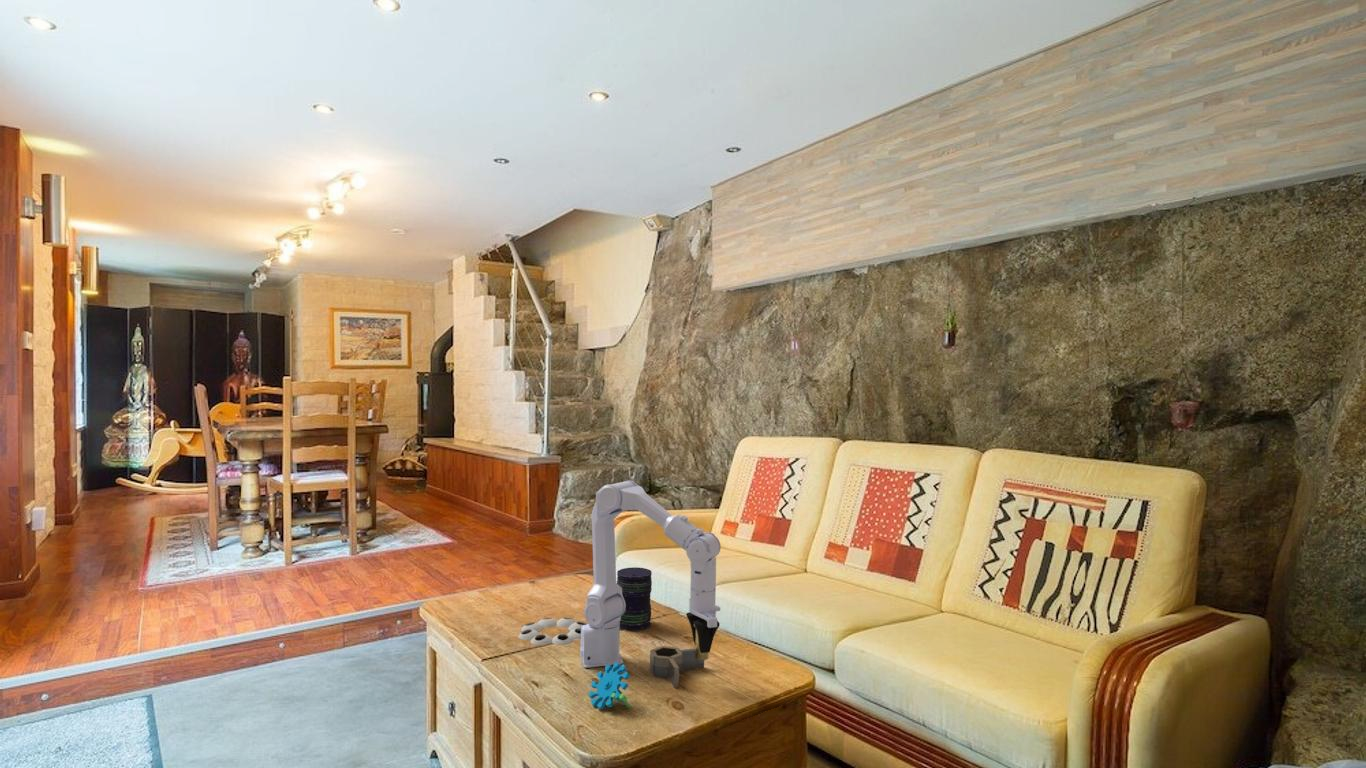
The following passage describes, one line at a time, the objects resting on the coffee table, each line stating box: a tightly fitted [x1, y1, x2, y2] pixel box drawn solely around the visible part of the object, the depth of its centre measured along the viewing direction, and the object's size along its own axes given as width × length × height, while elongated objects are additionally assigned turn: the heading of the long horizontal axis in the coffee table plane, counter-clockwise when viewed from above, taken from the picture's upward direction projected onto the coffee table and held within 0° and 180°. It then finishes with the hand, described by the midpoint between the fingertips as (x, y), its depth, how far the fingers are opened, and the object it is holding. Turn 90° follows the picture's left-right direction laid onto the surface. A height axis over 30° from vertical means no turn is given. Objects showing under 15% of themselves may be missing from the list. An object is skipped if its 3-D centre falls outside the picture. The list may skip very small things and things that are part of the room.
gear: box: [588, 662, 632, 710], centre depth 146 cm, size 11×6×10 cm
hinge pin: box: [694, 619, 710, 661], centre depth 155 cm, size 4×4×8 cm
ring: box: [517, 617, 588, 646], centre depth 186 cm, size 20×20×2 cm
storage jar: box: [616, 567, 653, 632], centre depth 192 cm, size 10×10×15 cm
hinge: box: [649, 645, 705, 689], centre depth 160 cm, size 13×13×4 cm
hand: (702, 648), depth 155 cm, fingers closed on hinge pin, 4 cm apart
